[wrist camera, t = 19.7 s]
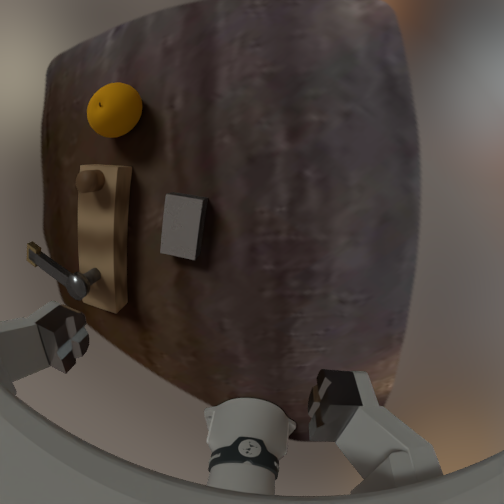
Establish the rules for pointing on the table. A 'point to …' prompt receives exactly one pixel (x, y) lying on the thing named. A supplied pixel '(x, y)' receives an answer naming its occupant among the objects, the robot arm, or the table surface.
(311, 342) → the table surface
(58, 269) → the lever
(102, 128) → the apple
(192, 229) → the lever cap
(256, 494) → the robot arm
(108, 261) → the plane body
